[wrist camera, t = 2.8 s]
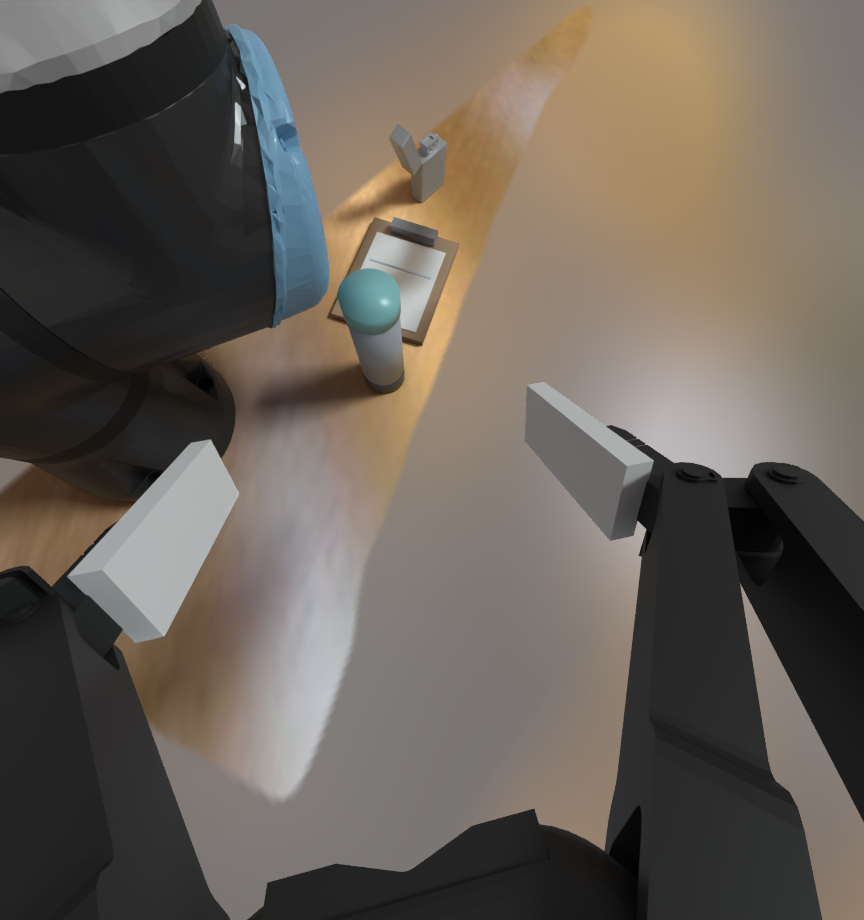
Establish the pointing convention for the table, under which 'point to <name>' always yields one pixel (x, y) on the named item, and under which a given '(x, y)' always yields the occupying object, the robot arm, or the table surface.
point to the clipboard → (408, 269)
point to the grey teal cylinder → (375, 326)
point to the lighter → (421, 161)
